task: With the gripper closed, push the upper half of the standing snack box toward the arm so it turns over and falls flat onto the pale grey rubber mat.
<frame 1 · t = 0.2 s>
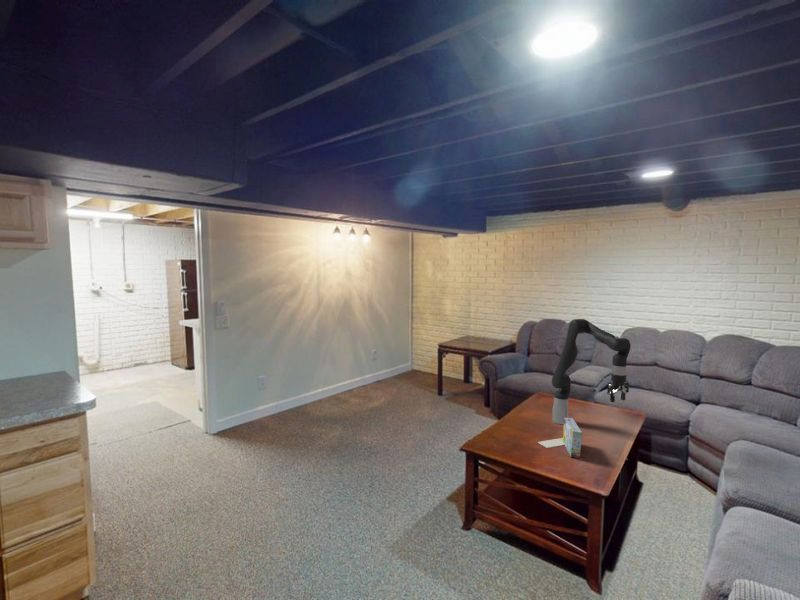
hand: (617, 401, 228), 29 cm above the table, fingers open, 8 cm apart
mat: (558, 442, 240), on the table
snack box: (570, 449, 231), on the table, touching mat
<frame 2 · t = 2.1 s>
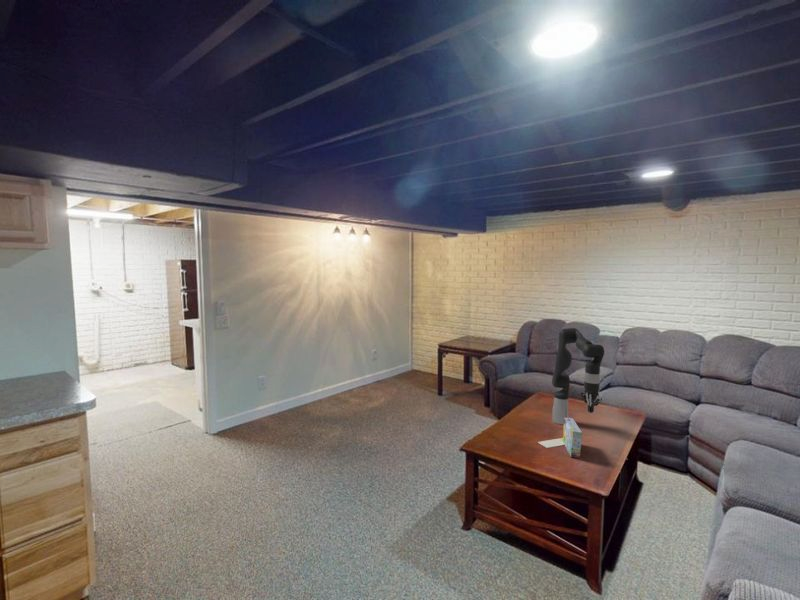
hand: (590, 412, 216), 27 cm above the table, fingers closed
nothing on the table moved.
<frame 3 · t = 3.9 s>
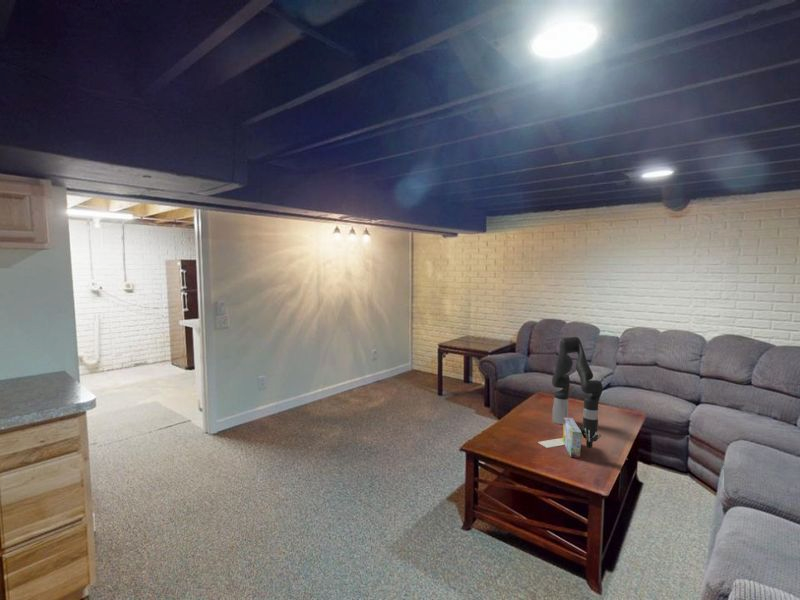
hand: (589, 447, 218), 7 cm above the table, fingers closed
nothing on the table moved.
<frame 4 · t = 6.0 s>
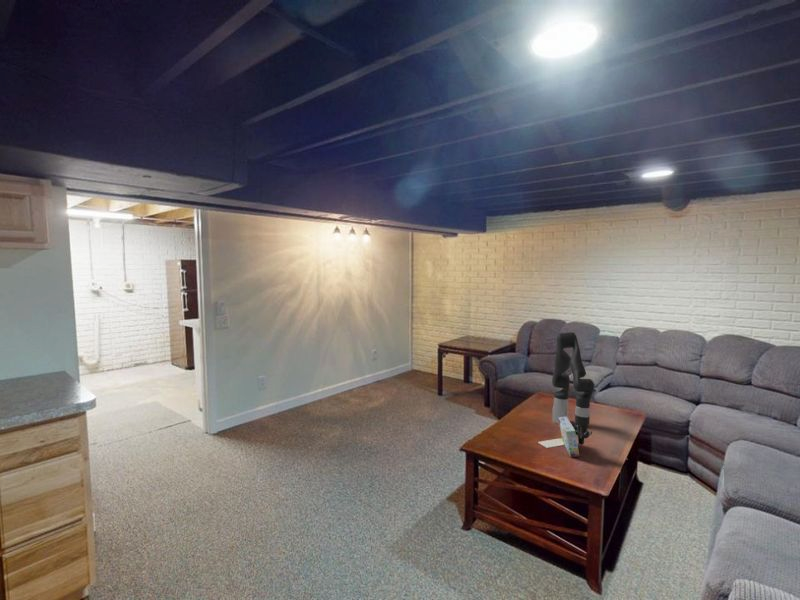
hand: (581, 444, 224), 6 cm above the table, fingers closed
snack box: (571, 448, 231), point 1 cm above the table, touching hand, mat
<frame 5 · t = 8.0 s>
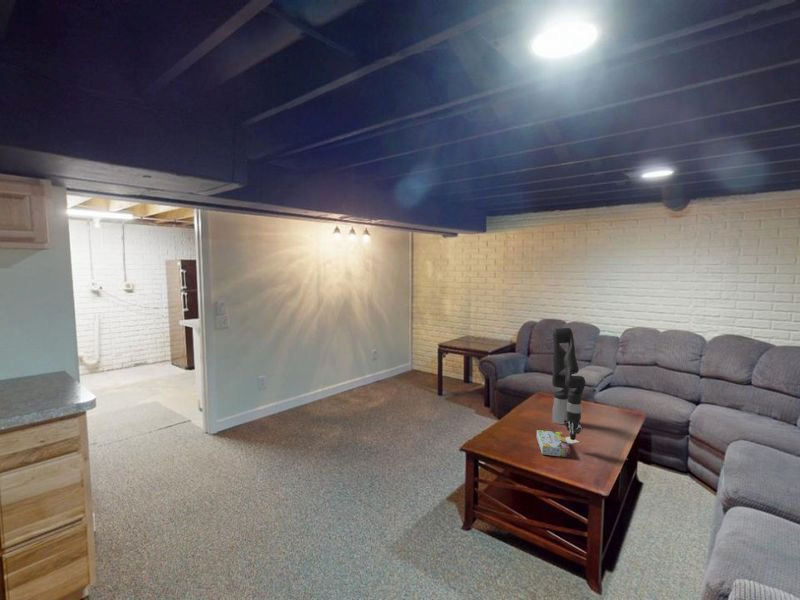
hand: (572, 439, 229), 6 cm above the table, fingers closed
snack box: (566, 444, 231), point 3 cm above the table, touching mat
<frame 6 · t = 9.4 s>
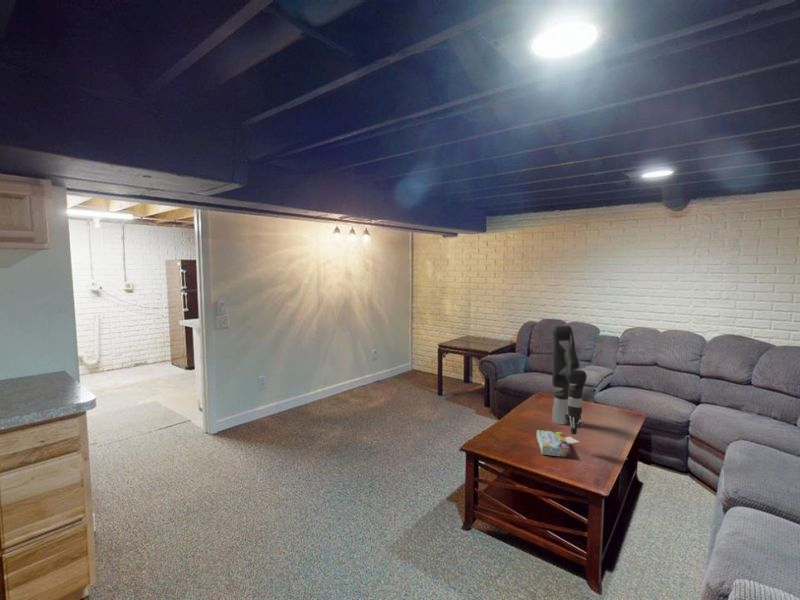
hand: (573, 433, 229), 10 cm above the table, fingers closed
nothing on the table moved.
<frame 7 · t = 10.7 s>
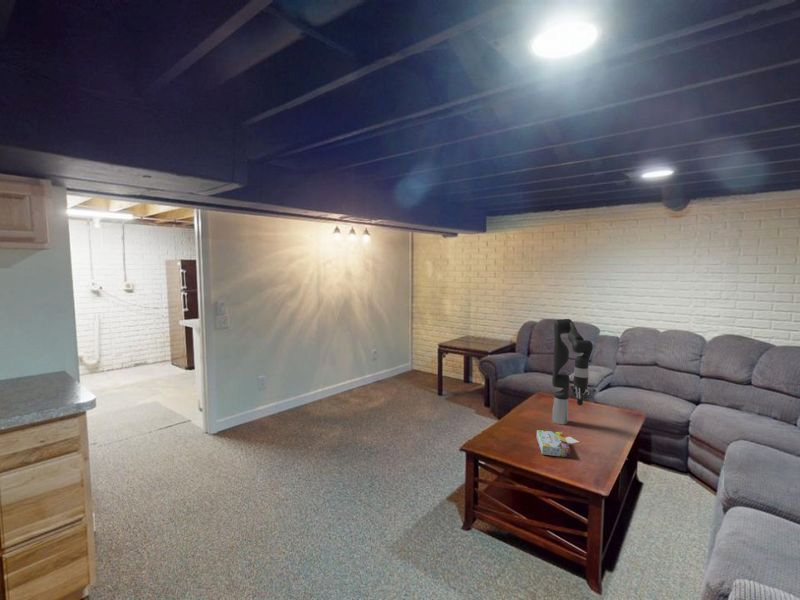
hand: (579, 404, 227), 27 cm above the table, fingers closed
nothing on the table moved.
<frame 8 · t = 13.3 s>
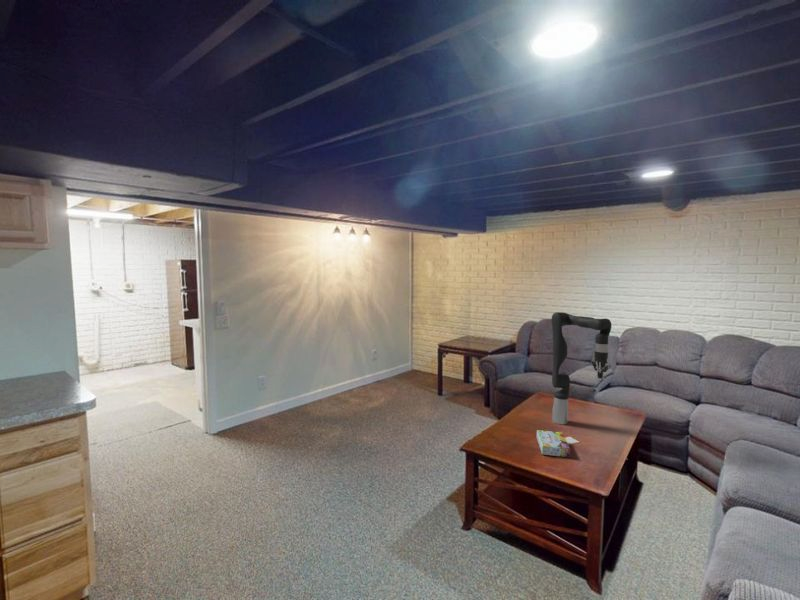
hand: (600, 378, 247), 37 cm above the table, fingers closed
nothing on the table moved.
at the end: snack box tilted 90°; snack box inside the target area (4.4 cm from its centre), point 3.1 cm above the table; the gripper is holding nothing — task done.
